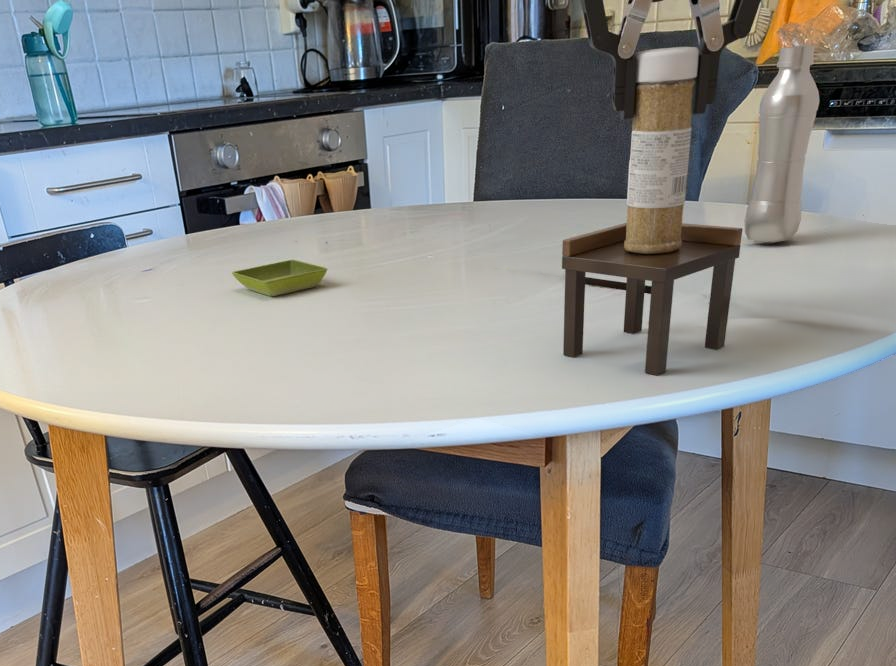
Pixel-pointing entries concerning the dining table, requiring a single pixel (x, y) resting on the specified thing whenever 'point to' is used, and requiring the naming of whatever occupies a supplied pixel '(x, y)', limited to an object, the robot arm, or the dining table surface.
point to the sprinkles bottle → (660, 148)
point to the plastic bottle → (783, 148)
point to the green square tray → (281, 277)
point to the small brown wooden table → (611, 258)
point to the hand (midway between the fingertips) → (662, 114)
